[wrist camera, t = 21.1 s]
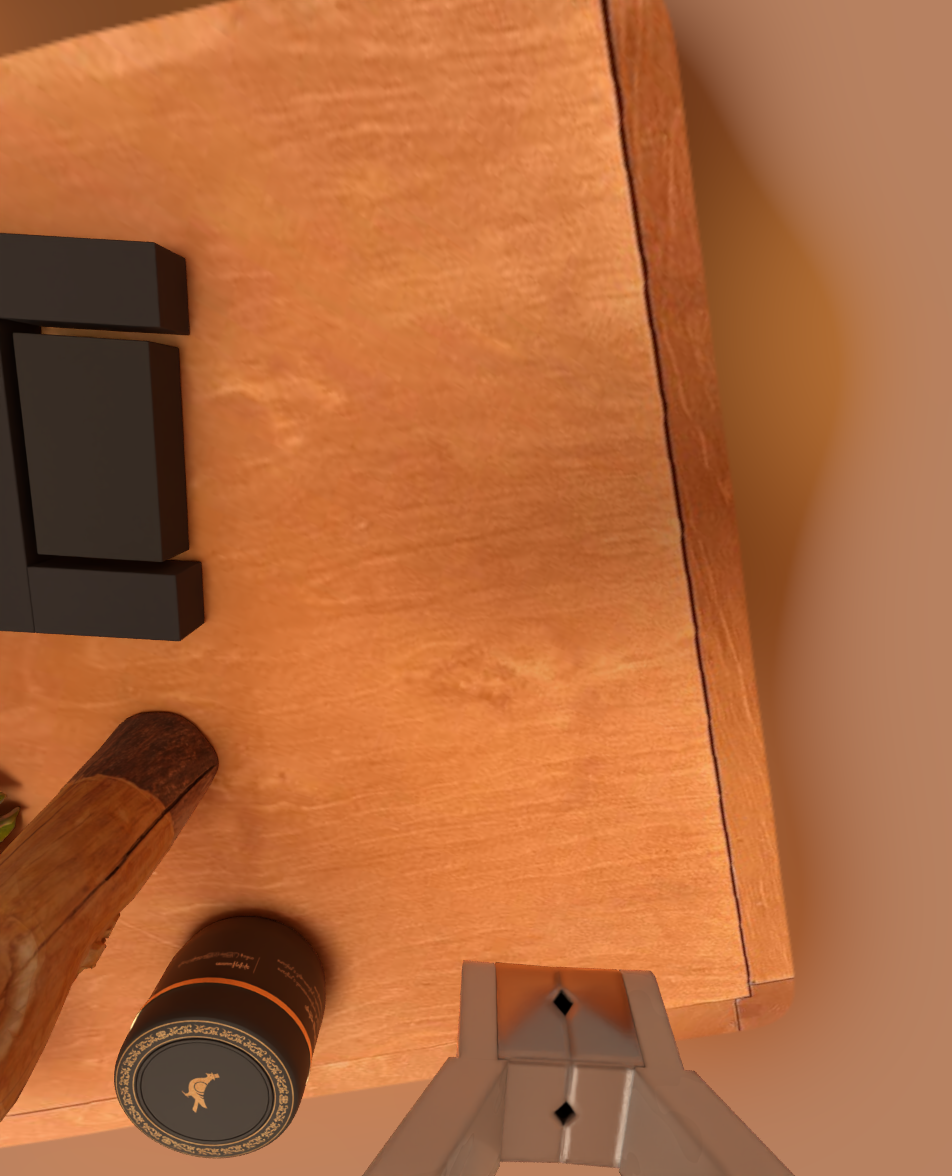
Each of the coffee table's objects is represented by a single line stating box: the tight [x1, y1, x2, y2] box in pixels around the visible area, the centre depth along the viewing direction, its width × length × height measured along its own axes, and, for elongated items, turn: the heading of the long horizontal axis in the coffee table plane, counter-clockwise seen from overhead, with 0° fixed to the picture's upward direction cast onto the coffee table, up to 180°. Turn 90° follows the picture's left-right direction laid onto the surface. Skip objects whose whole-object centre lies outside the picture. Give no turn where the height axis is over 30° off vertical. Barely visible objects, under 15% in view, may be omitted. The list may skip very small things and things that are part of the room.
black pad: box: [13, 333, 189, 562], centre depth 31 cm, size 10×6×3 cm, turn 176°
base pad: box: [0, 233, 204, 641], centre depth 31 cm, size 18×16×3 cm
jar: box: [114, 916, 325, 1158], centre depth 37 cm, size 10×10×8 cm
